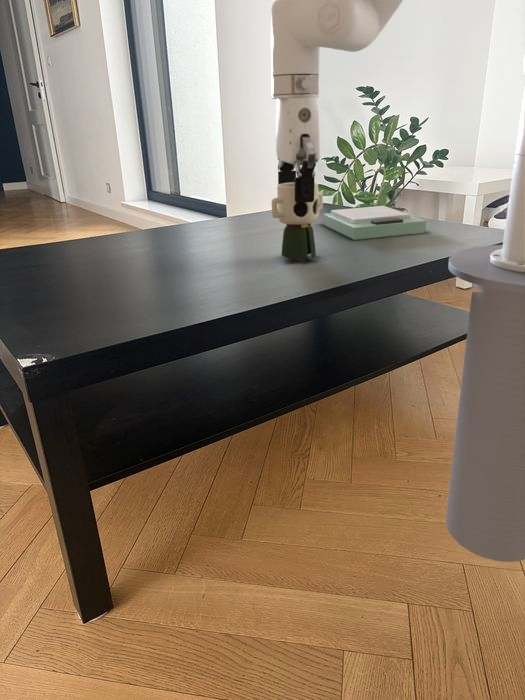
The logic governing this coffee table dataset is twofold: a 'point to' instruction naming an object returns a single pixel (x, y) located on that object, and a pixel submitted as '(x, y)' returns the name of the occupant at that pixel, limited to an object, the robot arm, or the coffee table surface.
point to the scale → (373, 222)
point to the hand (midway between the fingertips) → (295, 198)
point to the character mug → (296, 221)
